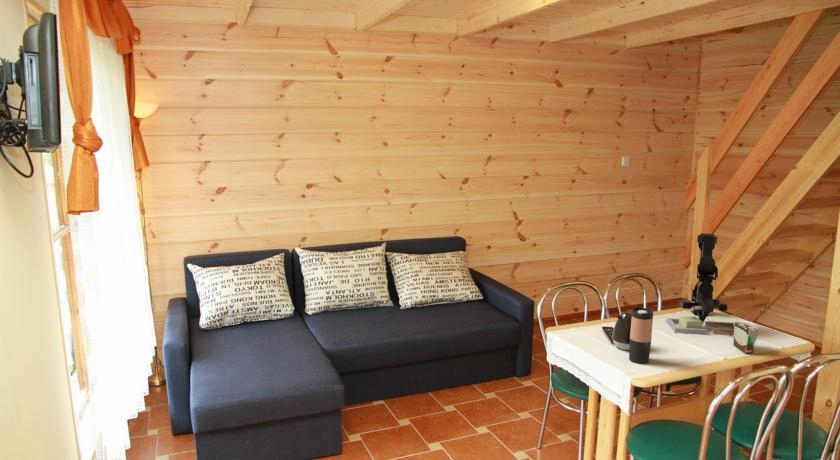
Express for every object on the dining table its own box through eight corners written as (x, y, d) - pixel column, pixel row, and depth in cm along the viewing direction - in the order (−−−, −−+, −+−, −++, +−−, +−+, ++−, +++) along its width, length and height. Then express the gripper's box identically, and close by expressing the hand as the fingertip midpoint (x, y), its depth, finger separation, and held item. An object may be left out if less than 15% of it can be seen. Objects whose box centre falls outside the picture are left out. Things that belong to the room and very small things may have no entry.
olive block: (678, 327, 267) (679, 316, 266) (693, 327, 267) (694, 316, 266) (685, 332, 260) (686, 321, 259) (701, 332, 260) (702, 321, 259)
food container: (762, 356, 233) (765, 331, 231) (746, 355, 233) (749, 331, 231) (746, 344, 245) (748, 321, 243) (731, 344, 245) (733, 321, 243)
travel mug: (644, 356, 230) (648, 307, 227) (652, 364, 223) (657, 313, 219) (625, 356, 230) (629, 307, 227) (632, 364, 222) (636, 313, 219)
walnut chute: (704, 325, 269) (705, 321, 269) (742, 327, 267) (742, 323, 266) (713, 334, 257) (713, 329, 257) (752, 336, 255) (753, 332, 255)
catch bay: (666, 321, 273) (666, 317, 273) (696, 323, 271) (697, 319, 271) (674, 332, 258) (675, 328, 258) (707, 334, 256) (707, 330, 256)
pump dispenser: (605, 345, 242) (608, 309, 240) (626, 342, 246) (628, 307, 243) (622, 353, 233) (625, 317, 230) (643, 350, 236) (646, 314, 234)
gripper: (687, 293, 254) (684, 328, 257) (733, 296, 252) (730, 330, 254) (680, 287, 265) (677, 320, 268) (724, 289, 262) (721, 322, 265)
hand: (701, 323), depth 263 cm, fingers closed
